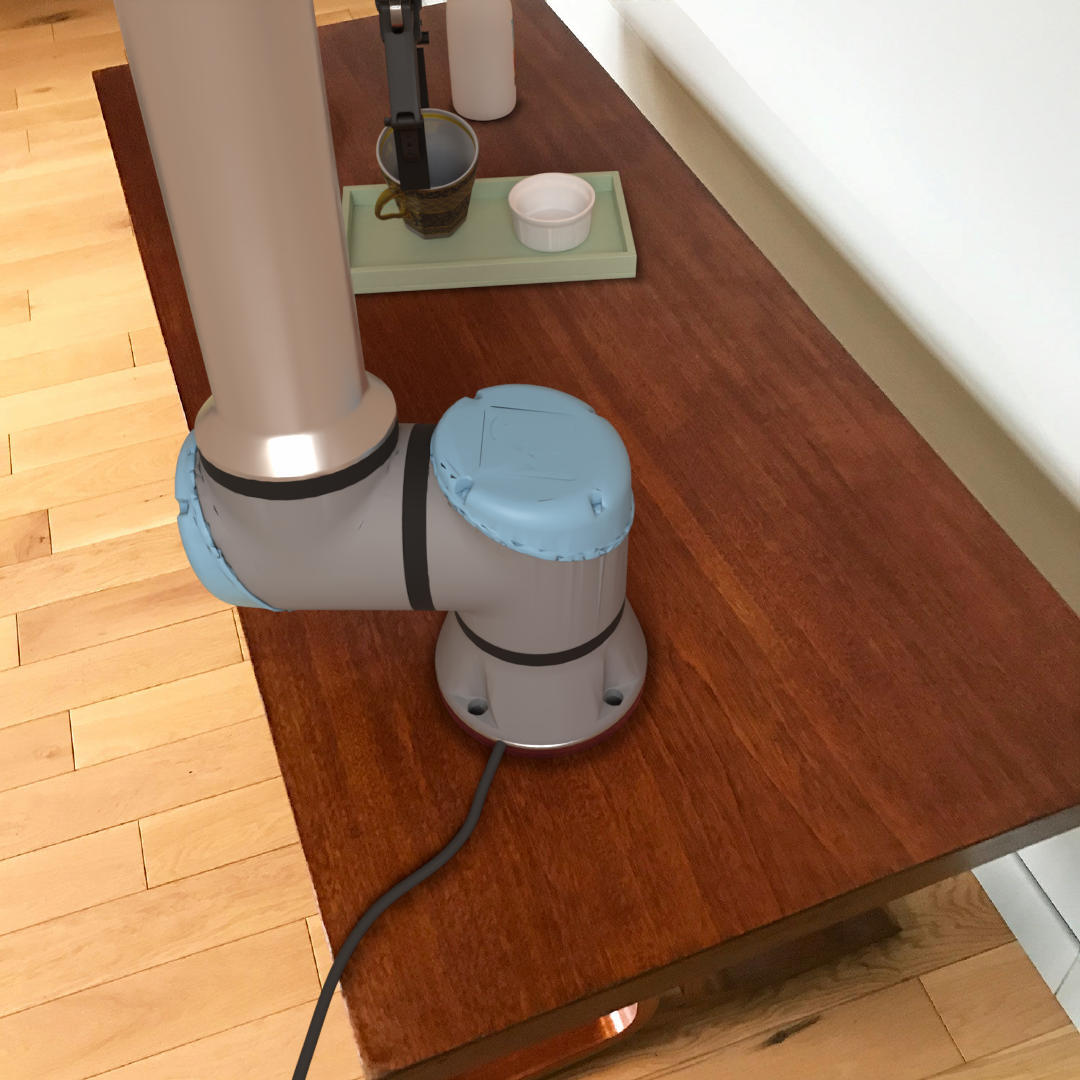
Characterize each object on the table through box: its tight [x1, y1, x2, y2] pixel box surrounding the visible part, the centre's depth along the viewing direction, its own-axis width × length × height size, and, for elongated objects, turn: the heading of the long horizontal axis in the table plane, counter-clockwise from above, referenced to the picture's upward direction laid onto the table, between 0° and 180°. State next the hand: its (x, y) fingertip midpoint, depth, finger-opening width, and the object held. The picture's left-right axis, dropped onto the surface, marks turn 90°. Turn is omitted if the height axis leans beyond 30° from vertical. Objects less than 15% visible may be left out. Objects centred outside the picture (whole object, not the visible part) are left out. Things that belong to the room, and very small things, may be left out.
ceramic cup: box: [375, 107, 480, 240], centre depth 112 cm, size 13×10×10 cm
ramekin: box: [508, 172, 595, 253], centre depth 115 cm, size 9×9×4 cm
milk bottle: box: [445, 0, 517, 122], centre depth 127 cm, size 8×8×20 cm
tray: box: [341, 170, 638, 295], centre depth 116 cm, size 16×30×3 cm, turn 94°
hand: (416, 150), depth 106 cm, fingers open, 13 cm apart
